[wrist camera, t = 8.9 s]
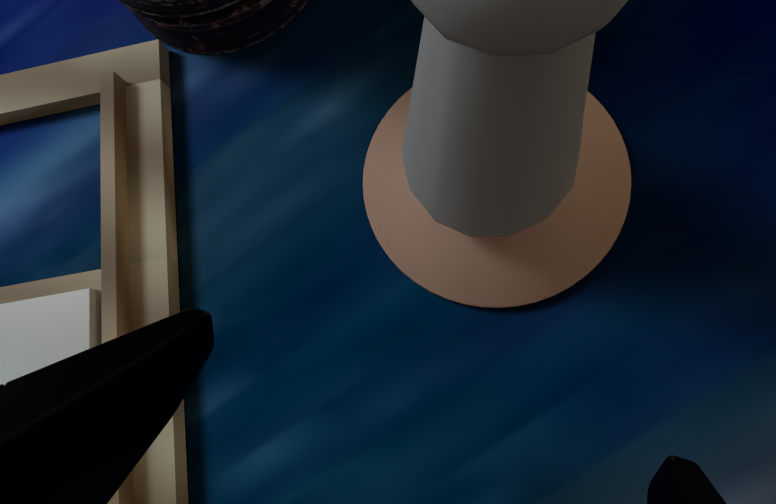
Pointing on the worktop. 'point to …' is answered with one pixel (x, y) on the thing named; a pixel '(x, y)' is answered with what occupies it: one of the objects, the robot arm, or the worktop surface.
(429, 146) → the salt shaker
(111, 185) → the board
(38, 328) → the cover
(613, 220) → the pad
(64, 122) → the worktop surface
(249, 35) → the storage jar
